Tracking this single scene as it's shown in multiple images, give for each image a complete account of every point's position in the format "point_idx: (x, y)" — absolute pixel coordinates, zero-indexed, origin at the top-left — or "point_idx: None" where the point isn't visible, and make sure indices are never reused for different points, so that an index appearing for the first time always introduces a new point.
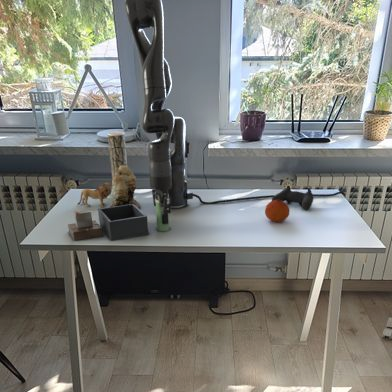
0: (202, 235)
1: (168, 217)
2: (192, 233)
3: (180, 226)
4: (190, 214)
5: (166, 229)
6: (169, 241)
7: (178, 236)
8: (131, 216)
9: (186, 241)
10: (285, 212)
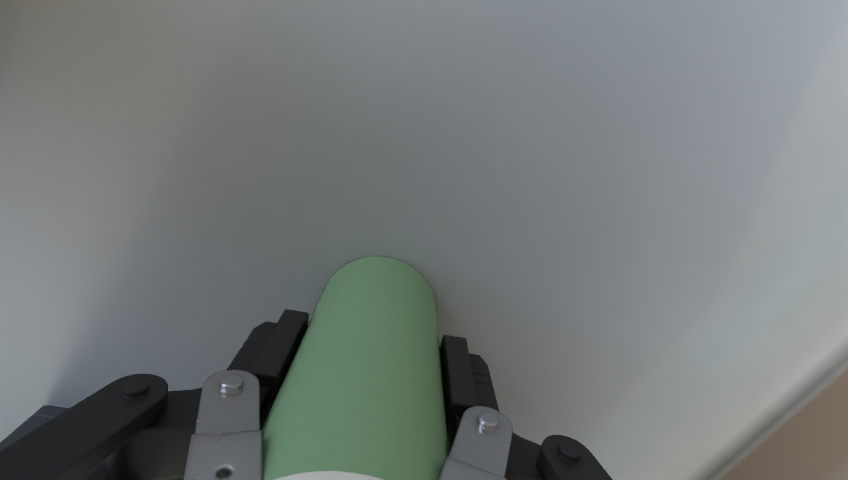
0: (779, 91)
1: (422, 334)
2: (660, 144)
3: (413, 132)
4: None
5: (436, 312)
6: (659, 404)
7: (624, 293)
8: None
9: (767, 300)
10: None
